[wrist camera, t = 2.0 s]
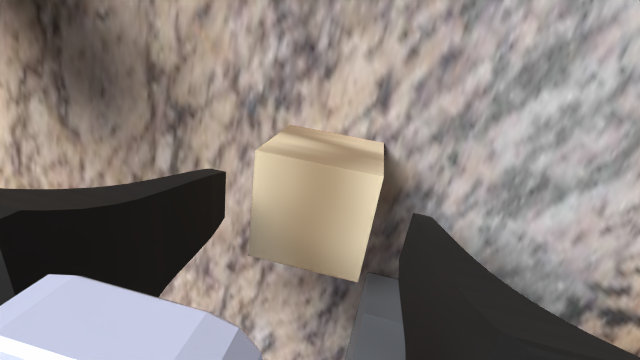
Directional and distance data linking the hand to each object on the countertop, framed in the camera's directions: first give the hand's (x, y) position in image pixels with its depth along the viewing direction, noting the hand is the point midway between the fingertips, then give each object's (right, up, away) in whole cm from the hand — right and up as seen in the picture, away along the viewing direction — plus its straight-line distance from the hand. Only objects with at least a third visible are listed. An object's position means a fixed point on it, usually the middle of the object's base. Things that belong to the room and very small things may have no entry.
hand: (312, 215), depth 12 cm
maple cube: (+1, +2, +4) cm, 4 cm away
